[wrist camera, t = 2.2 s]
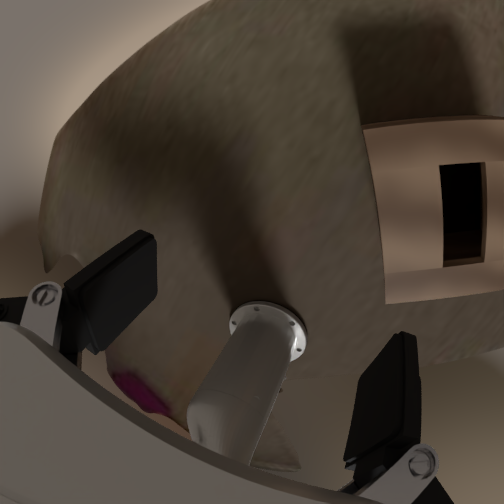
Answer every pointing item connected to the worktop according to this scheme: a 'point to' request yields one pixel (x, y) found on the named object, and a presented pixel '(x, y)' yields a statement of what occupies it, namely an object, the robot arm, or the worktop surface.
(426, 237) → the box
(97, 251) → the worktop surface
